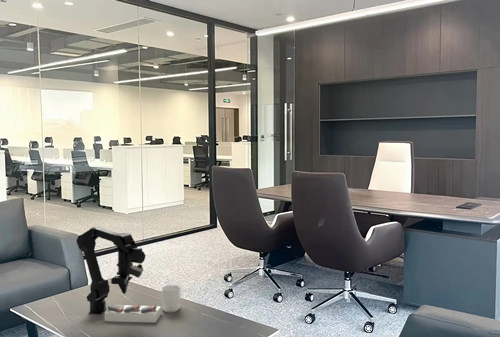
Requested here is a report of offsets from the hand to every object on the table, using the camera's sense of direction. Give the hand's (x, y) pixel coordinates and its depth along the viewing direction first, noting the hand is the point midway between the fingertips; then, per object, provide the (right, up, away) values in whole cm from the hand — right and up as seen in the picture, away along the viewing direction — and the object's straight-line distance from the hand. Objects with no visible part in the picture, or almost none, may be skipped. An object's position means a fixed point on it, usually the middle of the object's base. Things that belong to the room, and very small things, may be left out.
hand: (124, 293), depth 203 cm
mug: (+21, -12, +14) cm, 27 cm away
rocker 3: (+12, -8, -1) cm, 14 cm away
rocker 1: (-4, -7, 0) cm, 8 cm away
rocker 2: (+4, -8, -1) cm, 8 cm away
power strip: (+4, -12, +1) cm, 13 cm away
